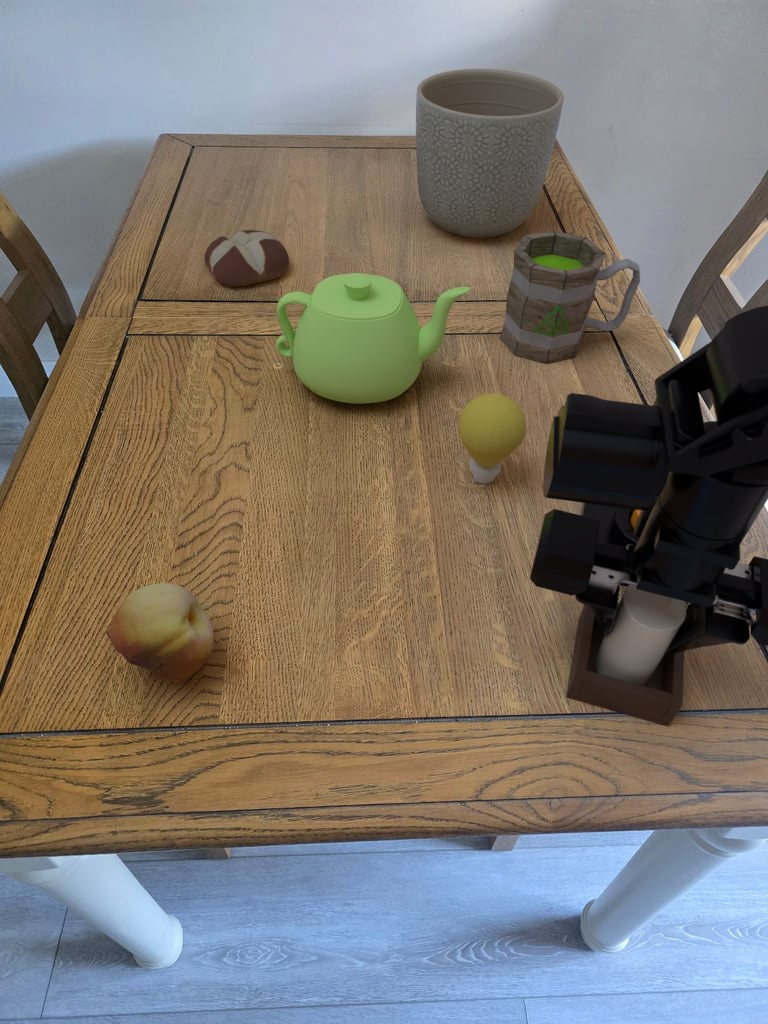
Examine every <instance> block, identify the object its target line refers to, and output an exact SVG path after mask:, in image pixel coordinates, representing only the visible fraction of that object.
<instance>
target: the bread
mask: <svg viewBox="0 0 768 1024" xmlns="http://www.w3.org/2000/svg"><path fill="white" fill-rule="evenodd" d="M204 263H205V265H206V268H207V269H208V270H209V271H210V272H211V273H212V275H213V277H214V278H215V279H216V280H217V281H218V282H219V283H221V284H222V285H224V286H227V287H235V288H236V287H237V288H238V287H239V288H240V287H246V286H251V285H254V284H258V283H262V282H266V281H270V280H274V279H277V278H280V277H283V275H284V274H285V273H286V272H287V270H288V268H289V264H290V257H289V254H288V250H287V249H286V248H285V246H284V245H283V243H282V242H281V241H279V240H277V239H276V237H275V236H274V235H272V233H269V232H267V231H263V230H254V229H242V230H238V231H237V232H235V234H234V235H233V236H232V238H230V237H228V236H225V235H221V236H219V237H217V238H216V239H215V240H213V241H212V242H211V243H210V244H209V245H208V247H207V248H206V250H205V253H204Z"/></svg>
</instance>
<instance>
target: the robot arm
mask: <svg viewBox="0 0 768 1024" xmlns="http://www.w3.org/2000/svg"><path fill="white" fill-rule="evenodd" d="M654 390H655V399H654V403H653V405H651V404H644V403H643V404H642V403H637V402H636V403H635V402H627V401H617V400H610V399H605V398H600V397H597V396H594V395H590V394H583V393H576V392H571V393H569V394H567V395H566V397H565V398H566V399H565V402H564V405H561V406H560V408H559V410H558V413H557V415H554V416H553V418H552V422H551V427H550V431H549V436H548V441H547V446H546V453H545V460H544V467H543V468H544V470H543V479H542V480H543V481H542V494H543V497H544V498H546V499H553V500H560V501H567V502H576V503H582V504H583V503H589V504H596V505H603V506H611V507H618V508H625V509H633V510H641V512H640V514H639V517H638V519H637V522H636V524H635V533H634V535H635V536H638V537H640V538H639V540H638V543H637V545H633V544H628V545H627V546H626V549H624V547H620V546H615V545H611V544H607V543H603V542H599V541H597V540H598V533H599V527H600V520H599V519H595V518H591V517H587V516H582V515H581V514H579V513H575V512H574V513H573V512H569V511H565V510H561V509H556V508H552V509H551V510H550V511H548V512H546V513H545V514H544V516H543V519H542V524H541V526H540V527H541V528H540V532H539V536H538V540H537V545H536V549H535V553H534V554H535V555H534V558H533V562H532V567H531V571H530V575H529V580H530V581H531V582H532V583H533V585H534V586H535V587H537V588H541V589H544V590H548V591H553V592H557V593H560V594H564V595H568V596H575V599H576V601H577V602H578V603H579V604H582V605H584V604H585V605H588V606H589V608H590V609H591V611H592V612H593V614H594V615H595V617H596V619H597V621H598V624H599V628H600V631H601V635H602V636H604V637H607V636H608V635H609V634H610V633H611V630H612V626H613V622H614V618H615V614H616V611H617V604H618V603H619V595H620V587H621V584H620V583H626V584H630V585H634V586H636V589H638V590H642V591H646V592H650V593H654V594H658V595H662V596H666V597H670V598H674V599H678V600H682V601H684V602H686V603H689V604H688V606H686V611H687V613H686V618H685V620H684V622H683V624H682V625H681V627H680V629H679V631H678V632H677V634H676V636H675V637H674V639H673V641H672V642H671V644H670V646H669V648H668V649H667V651H666V653H667V654H674V653H678V652H682V651H685V652H687V651H691V650H694V649H700V648H705V647H712V646H718V645H726V644H735V645H740V646H742V645H745V644H747V643H748V642H749V641H750V638H751V637H752V638H753V639H754V640H755V642H756V644H757V645H761V646H766V647H768V558H765V557H760V556H756V555H754V556H753V557H752V558H751V559H750V561H749V563H748V564H745V563H741V562H740V561H741V545H742V543H743V541H744V540H745V538H746V536H747V534H748V533H749V531H750V529H751V528H752V527H753V524H754V523H755V521H756V519H757V518H758V516H759V514H760V513H761V512H762V510H763V508H764V506H765V504H766V503H767V501H768V305H762V306H758V307H757V306H756V307H753V308H750V309H749V310H746V311H743V312H741V313H738V314H736V315H734V316H733V317H731V318H730V319H728V320H727V321H725V323H724V327H723V328H722V329H720V331H719V332H718V333H717V334H716V335H715V336H714V337H713V338H712V339H711V341H710V342H708V343H707V344H705V345H703V346H702V347H700V349H697V350H696V351H695V352H693V353H692V354H690V355H689V356H687V357H686V358H685V359H683V360H681V361H680V362H678V363H677V364H675V365H674V366H672V367H671V368H670V369H669V370H667V371H665V372H663V373H662V374H661V375H659V376H658V377H657V378H655V380H654ZM708 390H710V397H711V401H712V405H713V411H714V414H715V415H714V416H715V420H710V421H709V420H708V421H704V417H703V412H702V407H701V402H700V397H699V393H702V392H705V391H708ZM752 616H755V621H753V623H752V624H751V626H750V621H751V620H752ZM750 635H751V637H750Z"/></svg>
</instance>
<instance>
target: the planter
mask: <svg viewBox="0 0 768 1024" xmlns="http://www.w3.org/2000/svg"><path fill="white" fill-rule="evenodd" d="M416 88H417V89H416V98H415V145H416V146H415V147H416V149H415V150H416V174H417V175H416V176H417V187H418V195H419V199H420V202H421V205H422V208H423V210H424V212H426V214H427V215H428V217H429V218H430V219H431V220H432V221H433V222H434V223H435V224H436V225H438V227H440V228H442V229H443V230H445V231H446V232H449V233H452V234H453V235H456V236H460V237H465V238H473V239H487V238H494V237H499V236H502V235H505V234H507V233H510V232H512V231H513V230H515V229H516V228H518V227H520V226H521V225H522V224H523V223H525V222H526V221H527V220H528V219H529V218H530V216H531V215H532V214H533V213H534V211H535V209H536V207H537V205H538V203H539V200H540V197H541V194H542V191H543V189H544V188H543V187H544V184H545V182H546V178H547V173H548V170H549V165H550V162H551V159H552V155H553V152H554V151H553V150H554V148H555V147H554V146H555V144H556V139H557V134H558V129H559V125H560V120H561V117H562V111H563V105H564V100H565V97H564V94H563V91H562V90H561V89H560V88H559V87H558V86H557V85H556V84H554V83H552V82H550V81H548V80H546V79H543V78H541V77H538V76H535V75H532V74H529V73H524V72H519V71H515V70H508V69H507V70H506V69H497V68H496V69H495V68H461V69H455V70H448V71H443V72H439V73H436V74H433V75H430V76H427V77H426V78H425V79H423V80H422V81H420V83H419V84H418V85H417V87H416Z"/></svg>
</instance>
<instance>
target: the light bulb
mask: <svg viewBox="0 0 768 1024" xmlns="http://www.w3.org/2000/svg"><path fill="white" fill-rule="evenodd" d="M526 422H527V421H526V417H525V414H524V412H523V410H522V408H521V407H520V406H519V404H518V403H517V402H515V400H513V399H512V398H511V397H508V396H506V395H504V394H500V393H491V392H490V393H485V394H482V395H479V396H476V397H474V398H473V399H472V400H471V401H469V402H468V403H467V404H466V405H465V407H464V408H463V409H462V412H461V413H460V416H459V417H458V422H457V433H458V436H459V439H460V440H461V442H462V444H463V447H464V448H465V450H466V452H467V453H468V454H469V456H470V460H469V470H470V472H471V473H472V477H473V480H474V481H476V483H479V484H485V485H486V484H490V483H492V482H493V481H494V480H495V478H496V477H497V476H498V475H499V474H500V472H501V468H502V462H503V461H505V460H507V459H508V457H510V456H511V455H512V454H513V453H514V452H515V451H516V450H517V449H518V448H519V447H520V446H521V445H522V444H523V442H524V439H525V436H526V434H527V425H526Z"/></svg>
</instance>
